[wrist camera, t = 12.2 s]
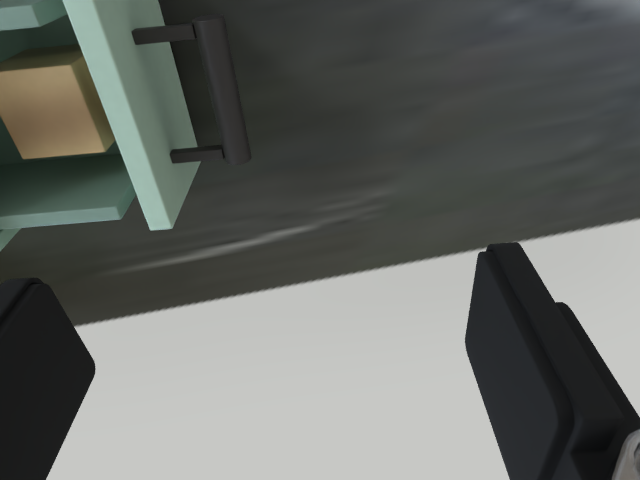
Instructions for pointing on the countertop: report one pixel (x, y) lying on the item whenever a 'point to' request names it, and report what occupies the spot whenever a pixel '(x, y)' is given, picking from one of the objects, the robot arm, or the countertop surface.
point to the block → (52, 104)
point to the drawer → (120, 113)
